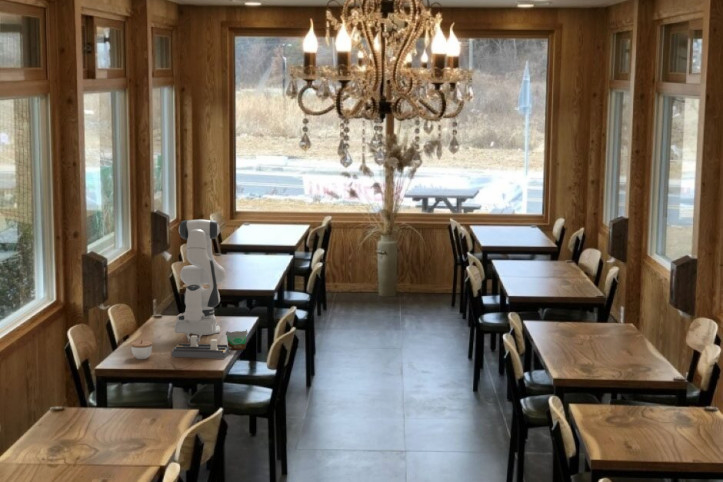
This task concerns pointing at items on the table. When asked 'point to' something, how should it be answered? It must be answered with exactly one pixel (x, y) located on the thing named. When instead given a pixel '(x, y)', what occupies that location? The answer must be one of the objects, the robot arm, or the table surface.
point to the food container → (236, 340)
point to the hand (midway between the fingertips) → (194, 341)
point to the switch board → (200, 351)
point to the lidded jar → (141, 349)
